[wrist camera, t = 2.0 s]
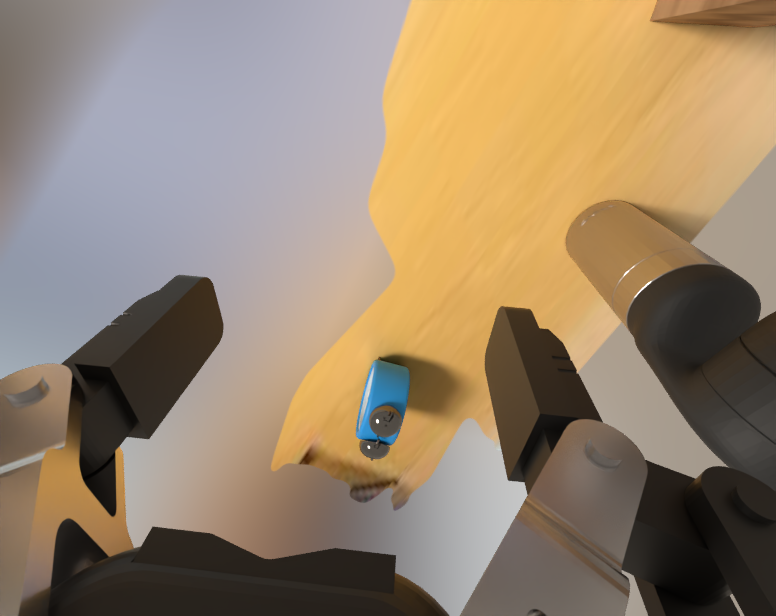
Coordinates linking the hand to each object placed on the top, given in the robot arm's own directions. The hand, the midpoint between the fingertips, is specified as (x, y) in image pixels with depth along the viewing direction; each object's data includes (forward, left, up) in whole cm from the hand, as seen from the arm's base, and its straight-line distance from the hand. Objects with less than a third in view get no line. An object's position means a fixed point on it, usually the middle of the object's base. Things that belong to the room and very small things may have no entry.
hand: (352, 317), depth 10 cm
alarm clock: (-31, +26, -38) cm, 56 cm away
